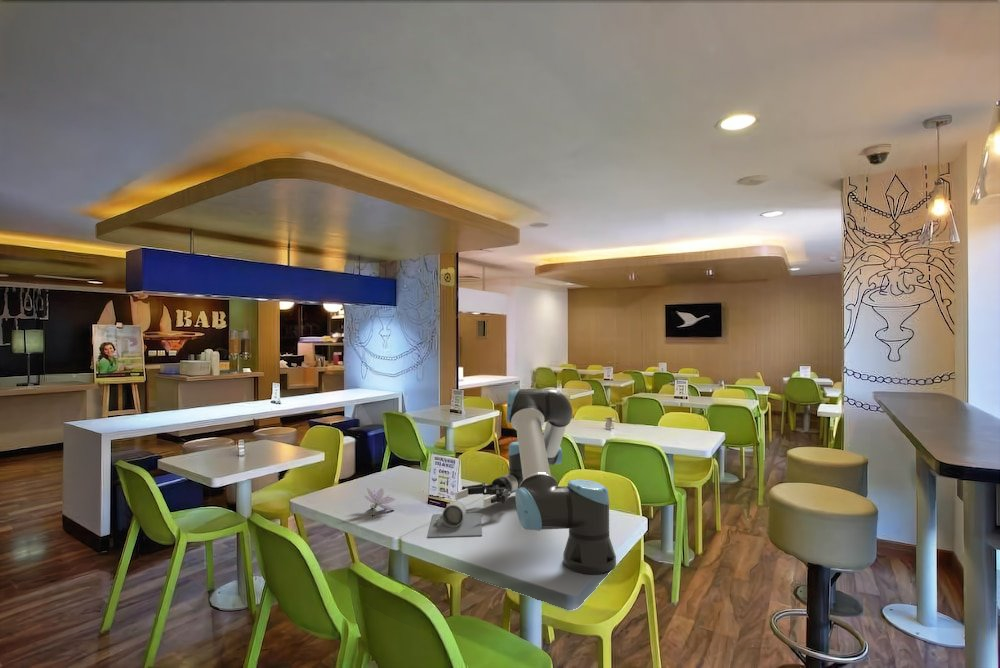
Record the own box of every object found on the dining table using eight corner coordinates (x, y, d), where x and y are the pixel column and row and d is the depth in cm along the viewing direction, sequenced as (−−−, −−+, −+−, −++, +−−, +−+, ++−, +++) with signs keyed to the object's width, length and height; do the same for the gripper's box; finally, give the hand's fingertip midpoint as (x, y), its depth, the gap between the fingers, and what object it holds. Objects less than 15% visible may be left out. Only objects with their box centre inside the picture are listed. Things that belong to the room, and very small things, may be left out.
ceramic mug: (467, 519, 184) (466, 498, 184) (463, 527, 175) (463, 505, 176) (438, 519, 184) (437, 498, 185) (433, 527, 176) (432, 505, 176)
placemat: (481, 536, 169) (481, 534, 169) (427, 537, 168) (427, 536, 168) (481, 513, 191) (481, 512, 191) (433, 515, 190) (433, 514, 190)
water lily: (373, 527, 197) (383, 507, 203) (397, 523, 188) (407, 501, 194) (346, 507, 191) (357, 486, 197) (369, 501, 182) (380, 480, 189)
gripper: (530, 501, 195) (497, 516, 178) (480, 490, 210) (444, 503, 193) (530, 481, 195) (496, 495, 178) (479, 472, 210) (444, 484, 193)
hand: (469, 499), depth 186 cm, fingers open, 13 cm apart
